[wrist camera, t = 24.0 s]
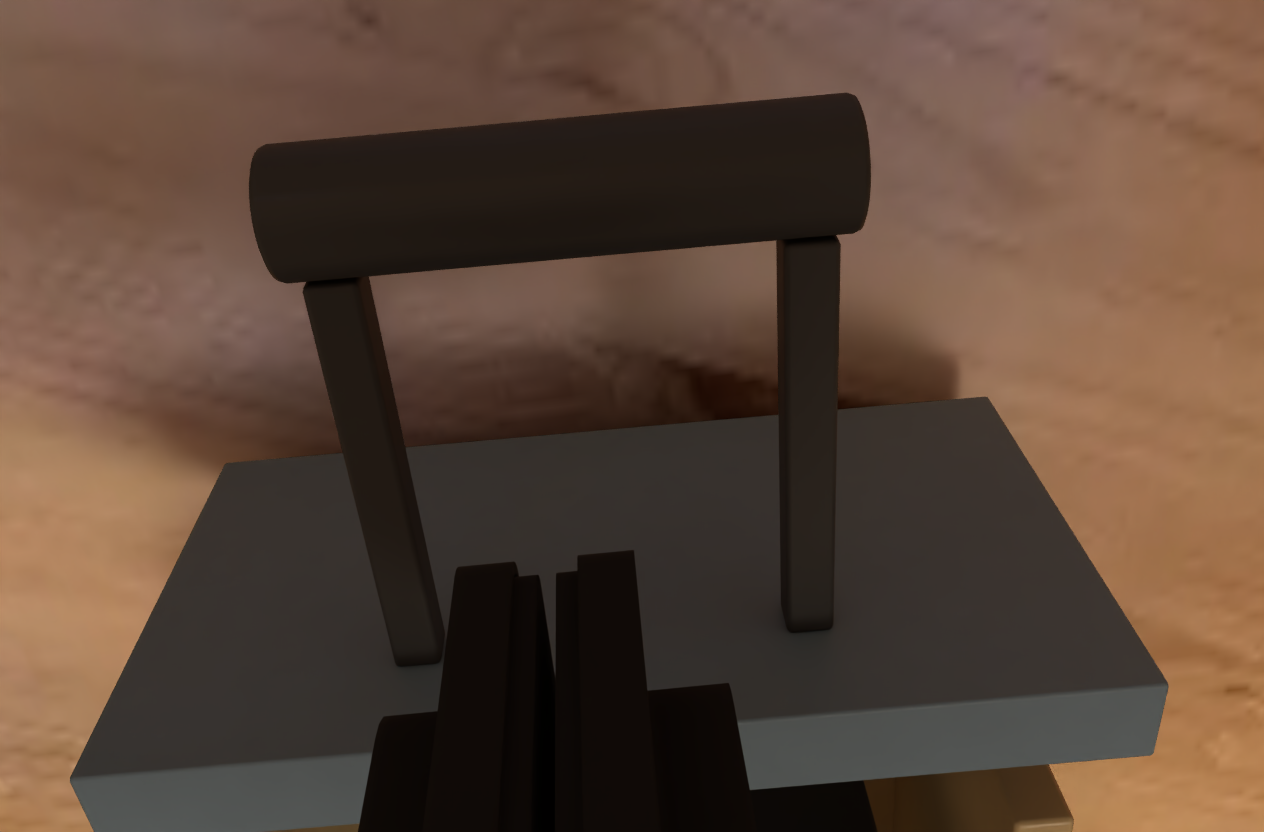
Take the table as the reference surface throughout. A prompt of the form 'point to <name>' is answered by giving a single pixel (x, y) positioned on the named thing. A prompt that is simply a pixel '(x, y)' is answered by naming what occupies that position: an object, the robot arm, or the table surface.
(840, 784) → the box with yellow tab
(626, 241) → the drawer
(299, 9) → the table surface
